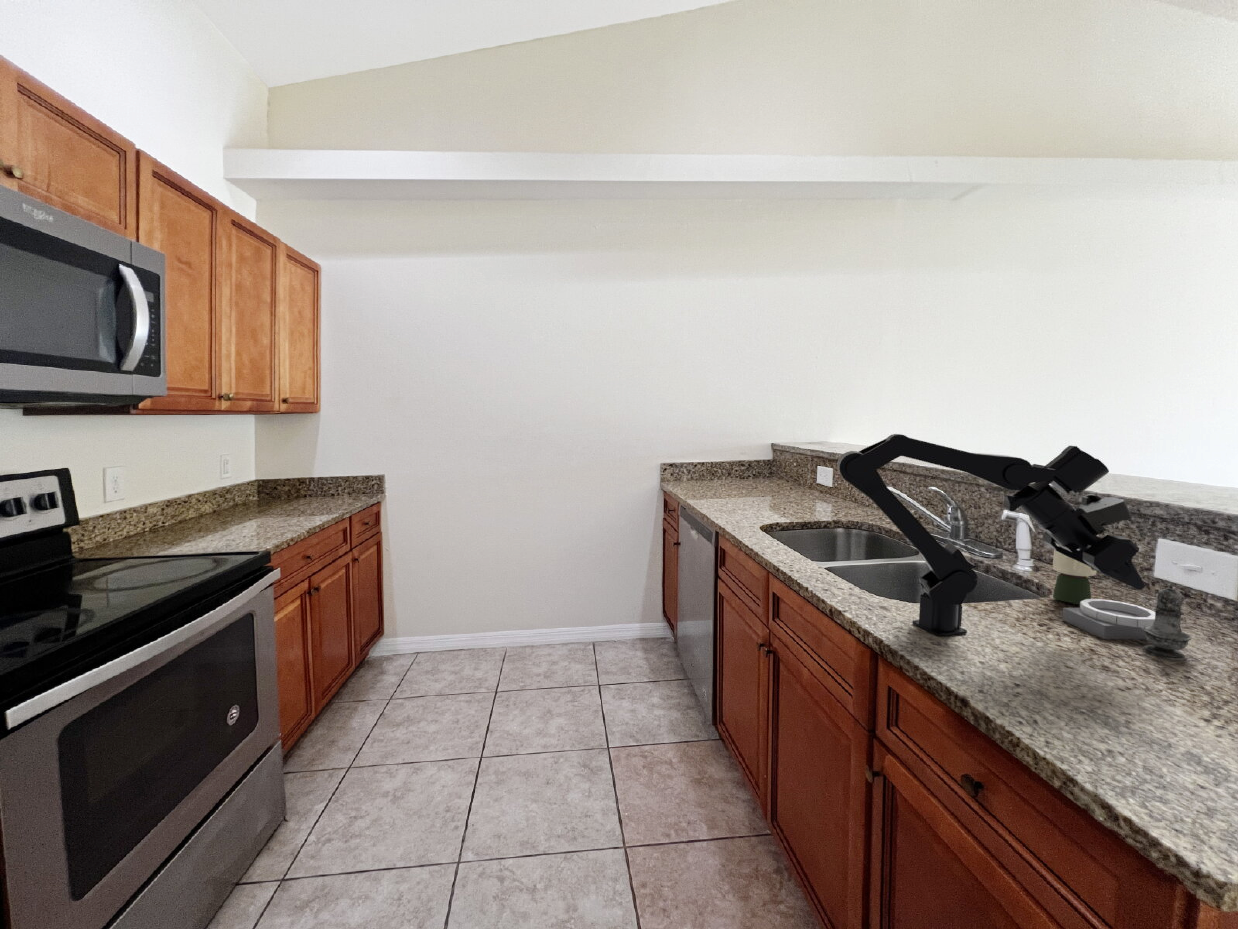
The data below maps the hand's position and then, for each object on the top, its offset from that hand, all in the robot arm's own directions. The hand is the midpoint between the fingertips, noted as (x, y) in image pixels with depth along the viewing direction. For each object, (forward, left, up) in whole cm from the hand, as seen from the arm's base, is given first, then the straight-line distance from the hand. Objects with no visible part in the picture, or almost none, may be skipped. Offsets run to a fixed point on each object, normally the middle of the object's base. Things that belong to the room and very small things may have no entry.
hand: (1125, 579), depth 91 cm
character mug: (+16, +20, -12) cm, 28 cm away
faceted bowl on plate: (+9, +6, -12) cm, 16 cm away
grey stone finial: (+5, -3, -12) cm, 14 cm away
